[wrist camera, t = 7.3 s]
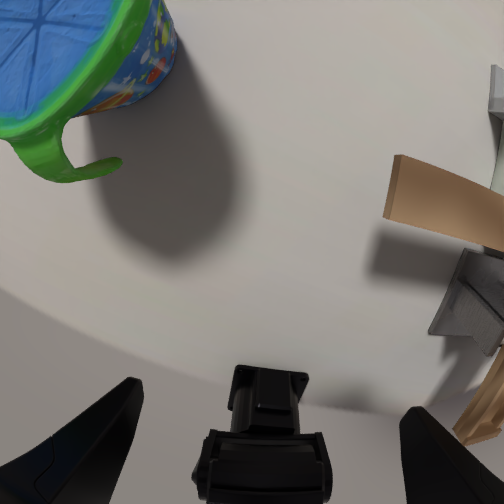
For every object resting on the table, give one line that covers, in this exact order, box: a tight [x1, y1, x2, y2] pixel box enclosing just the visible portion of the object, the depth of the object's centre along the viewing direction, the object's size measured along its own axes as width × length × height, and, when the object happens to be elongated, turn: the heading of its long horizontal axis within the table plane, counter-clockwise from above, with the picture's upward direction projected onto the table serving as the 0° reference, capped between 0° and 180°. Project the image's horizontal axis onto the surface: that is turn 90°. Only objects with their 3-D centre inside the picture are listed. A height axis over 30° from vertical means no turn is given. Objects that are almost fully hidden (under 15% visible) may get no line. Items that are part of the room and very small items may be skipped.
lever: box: [383, 155, 504, 447], centre depth 14 cm, size 18×19×3 cm
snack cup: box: [0, 0, 177, 183], centre depth 11 cm, size 16×10×10 cm
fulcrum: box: [428, 248, 504, 356], centre depth 18 cm, size 8×10×7 cm
